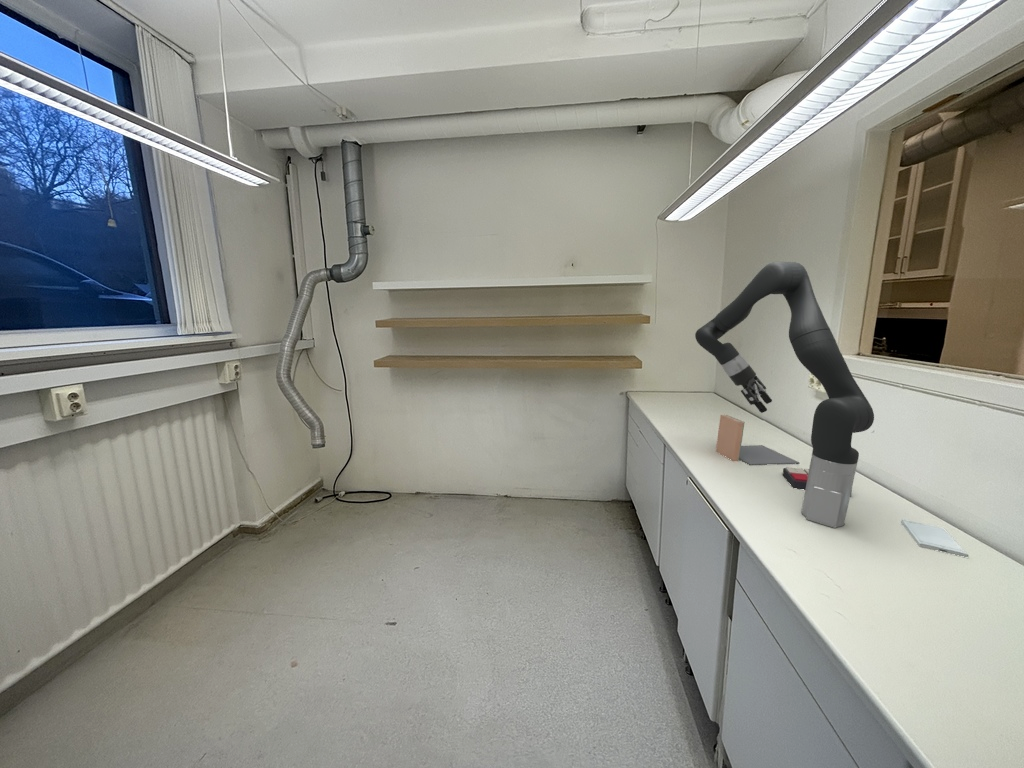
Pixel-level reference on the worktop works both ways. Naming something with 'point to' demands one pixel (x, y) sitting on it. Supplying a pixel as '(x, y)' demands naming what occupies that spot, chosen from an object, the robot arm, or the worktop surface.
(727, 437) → the tile
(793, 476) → the calculator
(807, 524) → the worktop surface
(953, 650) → the worktop surface
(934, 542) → the hard drive
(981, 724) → the worktop surface
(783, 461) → the mat
